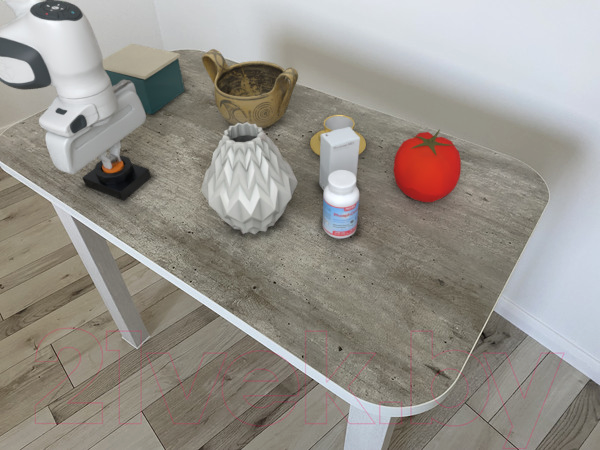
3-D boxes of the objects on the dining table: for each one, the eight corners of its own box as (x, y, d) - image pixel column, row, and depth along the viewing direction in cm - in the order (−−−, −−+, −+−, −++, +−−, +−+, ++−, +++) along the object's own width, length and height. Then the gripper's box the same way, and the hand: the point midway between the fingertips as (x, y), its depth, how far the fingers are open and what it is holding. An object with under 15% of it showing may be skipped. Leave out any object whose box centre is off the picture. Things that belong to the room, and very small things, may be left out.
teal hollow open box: (185, 90, 122) (178, 57, 116) (152, 114, 115) (143, 80, 108) (140, 78, 128) (132, 46, 121) (106, 101, 120) (95, 67, 114)
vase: (233, 182, 96) (220, 99, 83) (310, 201, 91) (310, 115, 78) (191, 237, 85) (169, 151, 72) (277, 262, 80) (269, 174, 67)
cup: (343, 123, 110) (344, 102, 106) (377, 148, 103) (379, 126, 99) (299, 140, 105) (298, 119, 102) (331, 168, 98) (332, 146, 94)
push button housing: (85, 186, 96) (78, 170, 93) (114, 164, 101) (108, 148, 98) (123, 201, 92) (117, 184, 90) (151, 177, 97) (146, 161, 95)
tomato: (447, 169, 97) (459, 120, 89) (462, 215, 87) (476, 164, 79) (386, 170, 97) (392, 120, 89) (394, 215, 88) (402, 165, 80)
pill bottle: (335, 244, 83) (337, 195, 75) (316, 224, 87) (316, 175, 79) (363, 231, 85) (368, 181, 77) (343, 211, 89) (346, 162, 81)
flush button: (100, 174, 94) (97, 167, 93) (114, 163, 97) (112, 156, 96) (115, 180, 93) (112, 173, 92) (129, 169, 95) (127, 162, 94)
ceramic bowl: (194, 128, 110) (181, 66, 99) (234, 94, 121) (227, 34, 110) (279, 153, 102) (275, 88, 92) (314, 114, 113) (314, 53, 102)
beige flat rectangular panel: (180, 56, 116) (179, 53, 115) (145, 79, 108) (144, 76, 107) (132, 46, 121) (131, 43, 121) (95, 67, 113) (94, 64, 113)
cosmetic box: (328, 198, 92) (330, 146, 83) (319, 185, 94) (319, 133, 86) (356, 189, 93) (360, 137, 85) (346, 176, 96) (349, 125, 88)
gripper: (117, 72, 92) (137, 133, 101) (29, 125, 79) (61, 190, 89) (143, 78, 89) (160, 141, 99) (57, 134, 77) (86, 200, 86)
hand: (113, 164), depth 94 cm, fingers closed, pressing on flush button
